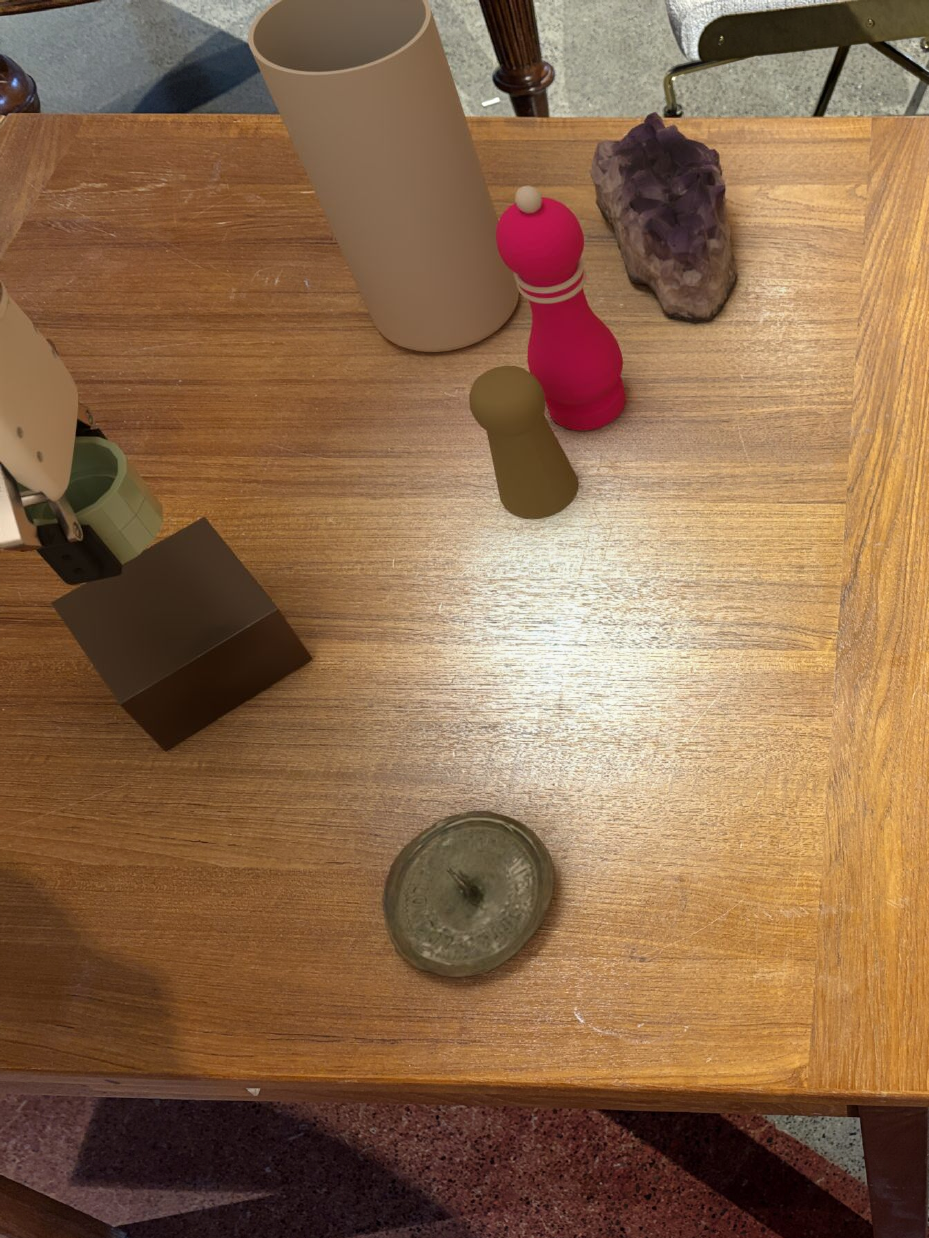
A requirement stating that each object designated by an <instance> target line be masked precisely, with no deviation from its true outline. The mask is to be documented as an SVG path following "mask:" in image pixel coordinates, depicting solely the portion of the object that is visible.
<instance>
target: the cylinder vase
mask: <svg viewBox="0 0 929 1238" xmlns="http://www.w3.org/2000/svg"><path fill="white" fill-rule="evenodd" d="M431 7H432V6H431V5H430V2H429V0H274V1H273V2H272V3H270V4H269V5H268V6H267V7H265V8H264V9H263V10H262V11H261V12H260V13H259V14H258V15H257V16H256V18H255V19H254V20H253V22H252V24H251V25H250V27H249V30H248V36H247V42H248V46H249V49H250V51H251V53H252V55H253V58H254V60H255V62H256V65H257V67H258V69H259V71H260V73H261V76H262V78H263V80H264V82H265V85H266V87H267V90H268V91H269V93H270V95H271V98H272V100H273V102H274V104H275V107H276V109H277V111H278V114H279V116H280V118H281V120H282V122H283V124H284V125H283V126H284V127H285V129H286V131H287V134H288V136H289V139H290V140H291V142H292V145H293V147H294V149H295V151H296V154H297V156H298V158H299V160H300V163H301V165H302V167H303V169H304V171H305V173H306V176H307V179H308V180H309V183H310V185H311V187H312V189H313V191H314V193H315V196H316V198H317V200H318V203H319V205H320V206H321V209H322V211H323V213H324V216H325V218H326V220H327V223H328V224H329V227H330V229H331V232H332V235H333V236H334V238H335V240H336V243H337V245H338V247H339V250H340V251H341V254H342V256H343V258H344V260H345V263H346V265H347V267H348V270H349V271H350V274H351V276H352V278H353V280H354V283H355V285H356V287H357V289H358V292H359V294H360V296H361V298H362V300H363V303H364V305H365V307H366V309H367V311H368V314H369V316H370V318H371V320H372V322H373V325H374V326H375V328H376V329H377V331H378V332H379V334H380V335H382V336H383V337H384V338H385V339H387V340H388V341H389V342H391V343H393V344H395V345H397V346H399V347H402V348H404V349H408V350H411V351H417V352H424V353H442V352H450V351H455V350H459V349H463V348H466V347H469V346H472V345H475V344H477V343H479V342H481V341H483V340H485V339H487V338H488V337H490V336H492V335H493V334H494V333H496V332H497V331H498V330H500V329H501V328H502V326H504V325H505V324H506V322H507V321H509V319H510V318H511V317H512V315H513V313H514V311H515V310H516V308H517V304H518V301H519V297H520V292H519V290H518V288H517V282H516V281H515V278H514V272H513V271H512V270H511V269H509V268H508V267H507V265H506V264H505V263H504V261H503V260H502V258H501V257H500V254H499V252H498V248H497V242H496V229H497V224H498V222H499V218H498V215H497V212H496V211H497V210H496V208H495V206H494V202H493V199H492V196H491V193H490V189H489V187H488V183H487V180H486V177H485V173H484V171H483V168H482V164H481V161H480V159H479V155H478V152H477V149H476V145H475V143H474V140H473V136H472V134H471V130H470V126H469V124H468V120H467V118H466V114H465V112H464V108H463V104H462V102H461V99H460V95H459V92H458V89H457V86H456V83H455V79H454V76H453V73H452V70H451V68H450V63H449V61H448V58H447V55H446V52H445V48H444V45H443V42H442V40H441V36H440V33H439V30H438V27H437V23H436V20H435V17H434V14H433V11H432V8H431Z"/></svg>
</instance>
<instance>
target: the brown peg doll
mask: <svg viewBox="0 0 929 1238" xmlns="http://www.w3.org/2000/svg"><path fill="white" fill-rule="evenodd" d="M468 400H469V409H470V412H471V414H472V416H473V418H474V420H475V421H476V422H477V424H478V425H479V426H480V427H481V428H482V429H484V430H485V431H486V435H487V440H488V446H489V451H490V455H491V460H492V464H493V470H494V475H495V481H496V485H497V490H498V496H499V500H500V503H501V504H502V506H503V508H504V509H505V510H506V511H507V512H509V513H510V514H512V515H513V516H516V517H519V518H522V519H531V520H532V519H533V520H535V519H536V520H539V519H542V518H547V517H550V516H553V515H555V514H557V513H560V512H561V511H563V510H564V509H566V508H567V507H568V506H569V505H571V503H572V502H573V500H574V499H575V497H576V496H577V494H578V491H579V486H580V484H579V478H578V475H577V474H576V472H575V469H574V468H573V466H572V464H571V462H570V460H569V458H568V457H567V455H566V453H565V451H564V449H563V447H562V446H561V443H560V441H559V440H558V437H557V435H556V434H555V432H554V431H553V428H552V426H551V424H550V423H549V421H548V419H547V417H546V415H545V410H546V401H545V394H544V391H543V387H542V386H541V384H540V383H539V381H538V380H537V379H536V377H535V376H534V375H533V374H531V373H530V372H529V370H527V369H525V368H523V367H521V366H520V367H519V366H517V365H500V366H496V367H492V368H491V369H488V370H485V372H483V373H482V374H480V375H479V376H478V377H476V379H475V380H474V381H473V384H472V386H471V388H470V391H469V394H468Z"/></svg>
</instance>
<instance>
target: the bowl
mask: <svg viewBox="0 0 929 1238" xmlns="http://www.w3.org/2000/svg"><path fill="white" fill-rule="evenodd" d="M17 485H18V489H19V492H24V491H29V490H31V489H29V488H27V487H25V486H23V485H22V484H20V483H17ZM65 494H66V496H67V498H68V500H69V502H70V504H71V507H72V509H73V511H74V513H75V515H76V517H77V519H78V521H79V523H80V525H90V526H91V527H92V529H93V530H94V531H95V532H96V533H97V535H98V536H99V537H100V538H101V539H102V541H103V542H104V543H105V544H106V546H107V547H108V548H109V549H110V550H111V552H112V553H113V554H114V555H115V556H116V558H117V559H118V560H119V561H120V562H121V564H122V565H123V564H125V563H126V562H128V561H130V560H132V559H134V558H135V557H137V556H138V555H140V554H141V553H142V552H143V551H144V550H146V549H147V548H149V547H150V545H151V544H153V542H154V541H155V540H156V538H157V536H158V534H159V532H160V530H161V528H162V526H163V524H164V512H163V511H164V509H163V504H162V502H160V500H159V498H157V496H156V495H155V493H154V492H153V491H152V490H151V488H150V487H149V485H148V484H147V482H146V481H145V480H144V478H143V477H142V476H141V475H140V473H139V472H138V471H137V469H136V468H135V467H134V465H133V464H132V462H131V460H129V458H128V457H127V455H126V454H125V453H124V452H123V450H122V449H121V448H120V447H119V445H118V444H117V443H116V442H113V441H110V440H109V439H108V440H105V439H103V438H100V437H79V436H77V437H75V443H74V451H73V459H72V466H71V473H70V479H69V484H68V487H67V489H66V491H65ZM27 509H28V511H29V513H30V515H31V517H32V519H33V521H34V523H35V524H36V525H44V524H51V523H58V521H57V519H56V517H55V515H54V513H53V511H52V509H51V507H50V505H49V502H47V503H42V504H37V505H32V506H27Z"/></svg>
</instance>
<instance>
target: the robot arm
mask: <svg viewBox="0 0 929 1238" xmlns="http://www.w3.org/2000/svg"><path fill="white" fill-rule="evenodd" d="M55 345H56V344H55V343H54V341H53V340H51V339H50V338H45V336H44V335H43V334H42V332H40V330H39V329H38V328H37V326H36V325H35V324H34V323H33V322H32V320H31V319H30V318H29V316H28V315H27V314H26V313H25V312H24V311H23V310H22V308H21V307H20V306H19V305H18V304H17V302H16V301H15V300H14V299H13V298H12V297H11V296H10V295H9V291H8V289H7V287H6V285H5V284H4V283H3V281H2V280H1V279H0V549H1V550H3V551H9V552H11V551H13V552H20V553H25V552H33V551H36V552H37V553H38V555H39V556H40V557H41V558H42V559H43V560H44V561H45V563H47V564H48V566H49V567H50V568H51V569H52V570H53V571H54V572H55V573H56V574H57V576H58V577H59V578H60V579H61V580H62V581H63V582H64V583H65V584H67V585H69V586H78V585H83V584H85V583H87V582H91V581H96V580H101V579H105V578H110V577H115V576H119V575H121V574H122V564H121V562H120V561H119V560H118V559H117V558H116V556H115V555H114V554H113V553H112V552H111V550H110V549H109V548H108V547H107V546H106V544H105V543H104V542H103V541H102V539H101V538H100V537H99V536H98V535H97V533H96V532H95V531H94V530H93V529H92V527H91V526H90V525H80V523H79V521H78V519H77V517H76V515H75V513H74V511H73V509H72V507H71V504H70V502H69V500H68V498H67V496H66V494H65V491H66V489H67V487H68V484H69V479H70V473H71V466H72V459H73V451H74V443H75V437H77V436H79V437H100V438H103V439H105V440H108V441H109V439H108V438H107V437H106V435H105V434H104V433H103V431H102V430H101V428H100V427H97V428H95V427H96V419H95V416H94V413H93V411H92V410H91V409H90V408H89V407H87V406H85V405H84V404H82V403H81V402H80V400H79V392H78V388H77V384H76V381H75V379H74V378H73V376H72V374H71V372H70V371H69V370H68V368H67V366H66V365H65V364H64V362H63V360H62V359H61V358H60V355H59V352H58V350H57V347H56V346H55ZM17 483H20V484H22V485H23V486H25V487H27V488H29V489H31V490H29V491H24V492H19V489H18V485H17ZM47 502H49V505H50V507H51V509H52V511H53V513H54V515H55V517H56V519H57V521H58V523H51V524H44V525H36V524H35V523H34V521H33V519H32V517H31V515H30V513H29V511H28V509H27V506H32V505H37V504H42V503H47Z"/></svg>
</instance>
